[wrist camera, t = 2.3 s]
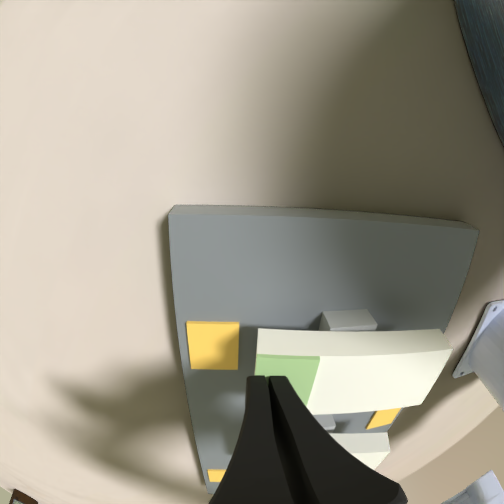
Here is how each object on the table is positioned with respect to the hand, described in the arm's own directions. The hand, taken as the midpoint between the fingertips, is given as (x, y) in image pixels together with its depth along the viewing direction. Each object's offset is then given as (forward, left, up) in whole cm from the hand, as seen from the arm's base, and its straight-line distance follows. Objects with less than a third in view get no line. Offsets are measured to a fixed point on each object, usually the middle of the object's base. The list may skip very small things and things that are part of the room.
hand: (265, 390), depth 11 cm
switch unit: (-4, +9, -4) cm, 10 cm away
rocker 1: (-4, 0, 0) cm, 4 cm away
